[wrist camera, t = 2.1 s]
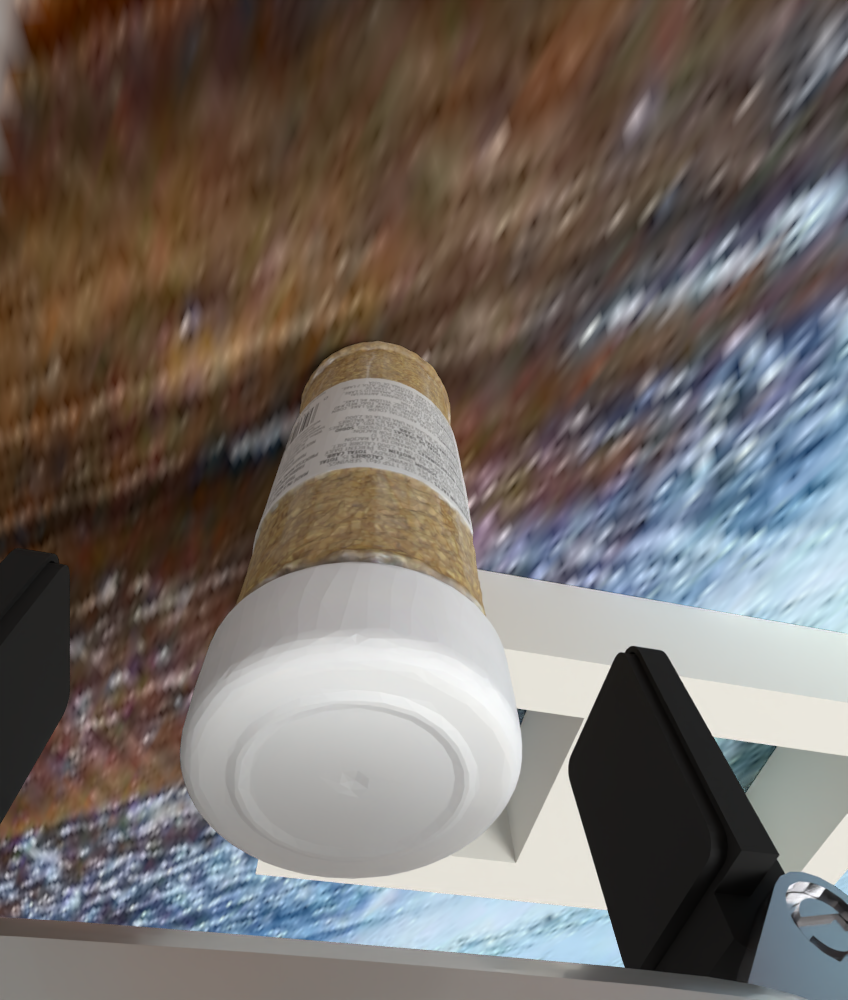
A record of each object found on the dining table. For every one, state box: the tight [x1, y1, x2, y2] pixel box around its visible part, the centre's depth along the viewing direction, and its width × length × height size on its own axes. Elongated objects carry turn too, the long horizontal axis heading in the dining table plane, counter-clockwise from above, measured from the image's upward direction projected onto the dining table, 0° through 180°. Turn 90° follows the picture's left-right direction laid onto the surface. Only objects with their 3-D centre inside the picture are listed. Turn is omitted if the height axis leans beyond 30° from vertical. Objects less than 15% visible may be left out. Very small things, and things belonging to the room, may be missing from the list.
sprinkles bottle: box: [180, 341, 522, 879], centre depth 15 cm, size 5×5×14 cm
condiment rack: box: [256, 569, 848, 910], centre depth 25 cm, size 12×22×4 cm, turn 77°
